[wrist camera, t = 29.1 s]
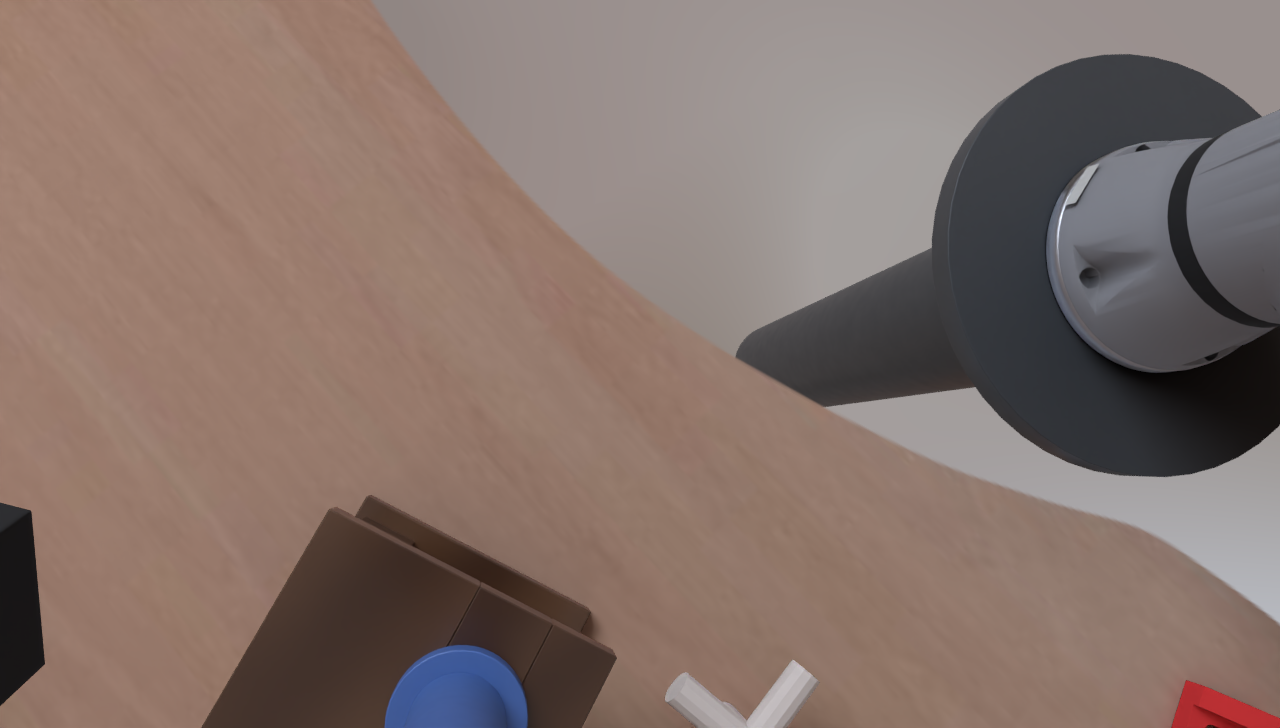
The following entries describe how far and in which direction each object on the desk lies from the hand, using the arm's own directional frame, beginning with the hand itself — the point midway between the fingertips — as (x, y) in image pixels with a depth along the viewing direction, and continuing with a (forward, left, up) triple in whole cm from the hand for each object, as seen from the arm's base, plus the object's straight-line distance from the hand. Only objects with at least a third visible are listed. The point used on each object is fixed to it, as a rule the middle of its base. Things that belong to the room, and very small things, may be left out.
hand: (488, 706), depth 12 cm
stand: (0, +7, -38) cm, 39 cm away
